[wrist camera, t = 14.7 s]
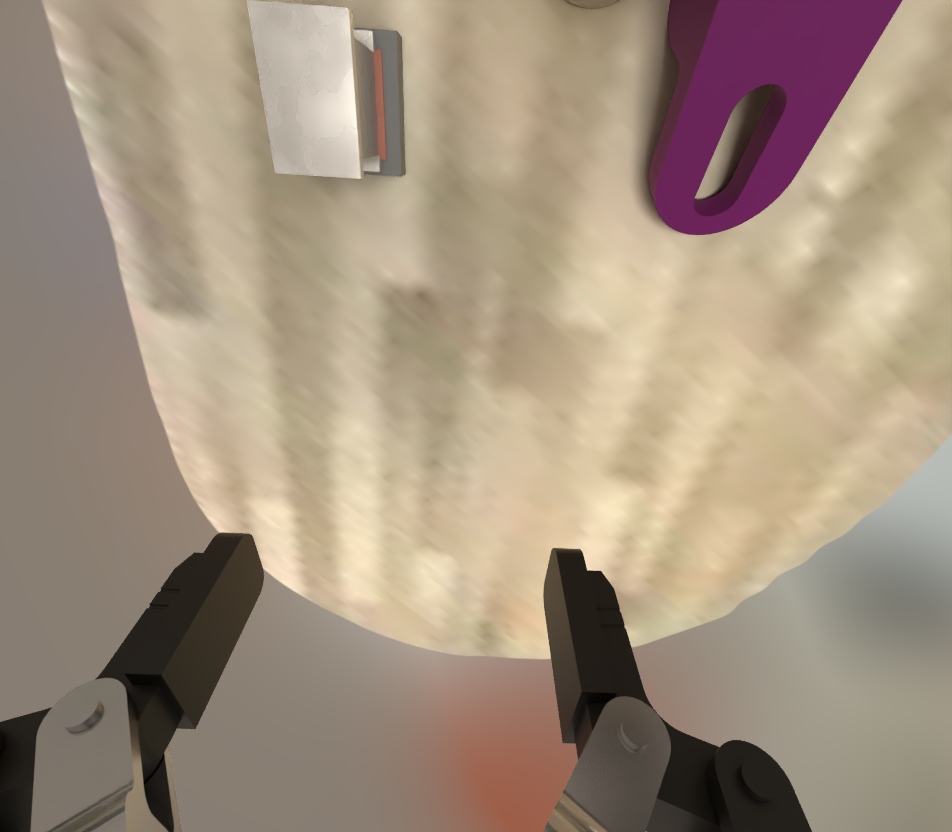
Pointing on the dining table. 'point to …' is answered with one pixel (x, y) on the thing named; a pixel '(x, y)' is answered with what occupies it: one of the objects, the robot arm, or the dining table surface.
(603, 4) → the travel mug
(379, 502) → the dining table surface
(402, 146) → the stand
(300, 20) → the housing
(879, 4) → the mounting bracket
